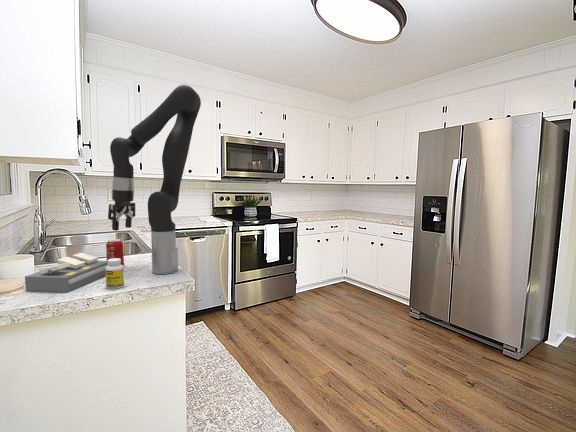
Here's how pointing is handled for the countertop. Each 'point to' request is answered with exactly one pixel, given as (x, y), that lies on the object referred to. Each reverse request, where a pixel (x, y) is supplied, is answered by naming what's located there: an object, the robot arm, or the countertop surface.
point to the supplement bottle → (114, 274)
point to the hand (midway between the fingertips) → (122, 228)
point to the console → (66, 278)
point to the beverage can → (115, 250)
